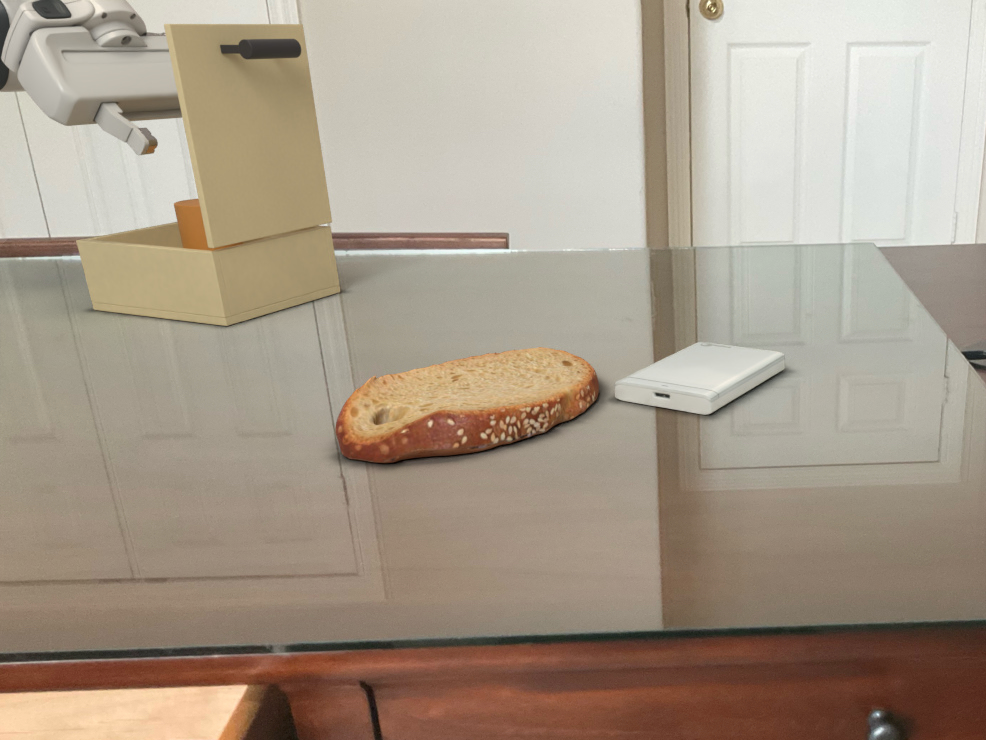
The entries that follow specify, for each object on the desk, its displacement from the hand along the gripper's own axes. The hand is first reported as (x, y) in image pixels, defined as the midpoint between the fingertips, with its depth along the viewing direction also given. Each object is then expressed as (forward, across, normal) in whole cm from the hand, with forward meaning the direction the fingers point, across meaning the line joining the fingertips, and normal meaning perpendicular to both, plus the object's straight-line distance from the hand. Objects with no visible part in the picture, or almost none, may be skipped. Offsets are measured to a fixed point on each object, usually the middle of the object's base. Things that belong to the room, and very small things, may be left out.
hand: (190, 145), depth 104 cm
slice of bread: (+43, +20, +21) cm, 52 cm away
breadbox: (+10, -1, -11) cm, 15 cm away
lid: (+4, -1, +6) cm, 8 cm away
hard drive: (+51, +7, +30) cm, 59 cm away
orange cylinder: (+10, -1, -10) cm, 14 cm away
